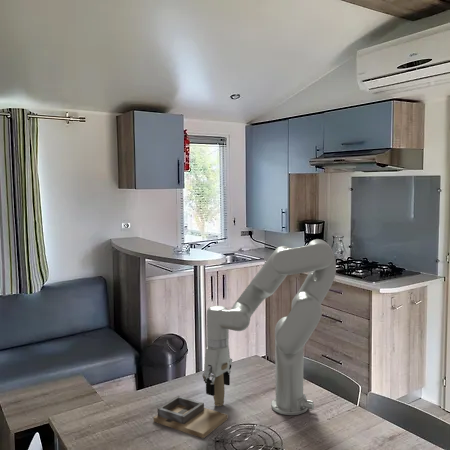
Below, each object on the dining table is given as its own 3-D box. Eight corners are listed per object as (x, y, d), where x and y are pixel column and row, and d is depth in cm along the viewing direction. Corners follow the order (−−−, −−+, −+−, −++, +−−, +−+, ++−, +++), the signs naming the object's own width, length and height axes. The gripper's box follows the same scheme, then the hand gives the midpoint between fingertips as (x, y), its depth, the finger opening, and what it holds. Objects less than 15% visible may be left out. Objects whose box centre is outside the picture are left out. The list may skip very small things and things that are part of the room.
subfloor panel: (227, 418, 155) (227, 407, 155) (203, 438, 143) (203, 425, 143) (179, 404, 166) (179, 393, 166) (153, 421, 154) (153, 410, 154)
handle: (227, 408, 162) (226, 366, 161) (208, 407, 163) (208, 365, 162) (229, 402, 167) (228, 361, 166) (211, 401, 168) (210, 360, 167)
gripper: (222, 333, 173) (222, 378, 174) (194, 347, 158) (194, 396, 160) (239, 337, 169) (239, 383, 170) (212, 351, 154) (213, 401, 156)
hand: (218, 389), depth 165 cm, fingers open, 9 cm apart
